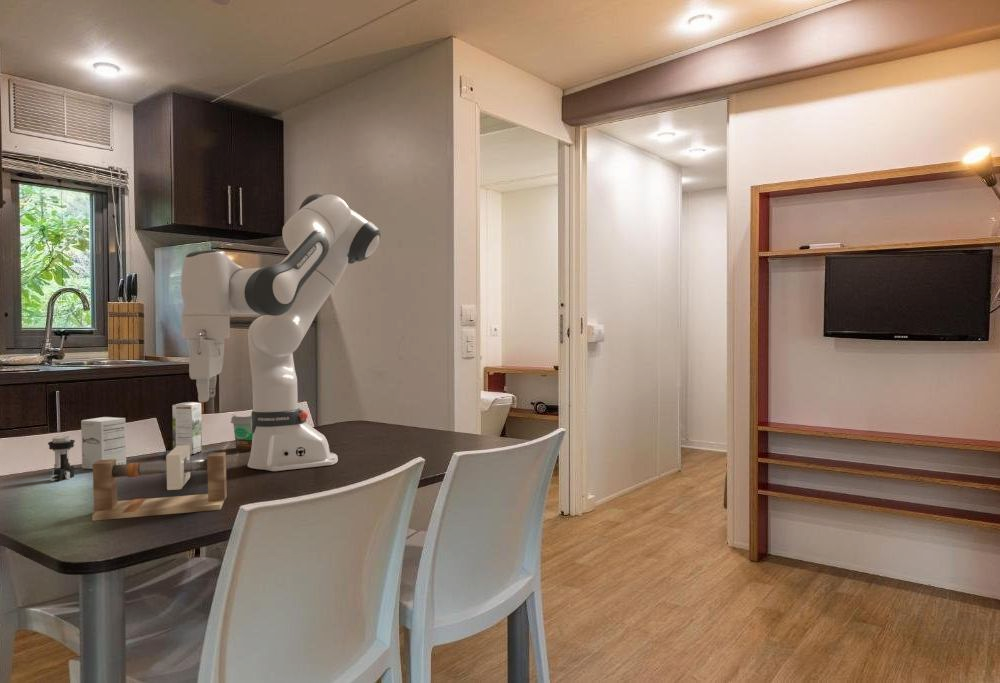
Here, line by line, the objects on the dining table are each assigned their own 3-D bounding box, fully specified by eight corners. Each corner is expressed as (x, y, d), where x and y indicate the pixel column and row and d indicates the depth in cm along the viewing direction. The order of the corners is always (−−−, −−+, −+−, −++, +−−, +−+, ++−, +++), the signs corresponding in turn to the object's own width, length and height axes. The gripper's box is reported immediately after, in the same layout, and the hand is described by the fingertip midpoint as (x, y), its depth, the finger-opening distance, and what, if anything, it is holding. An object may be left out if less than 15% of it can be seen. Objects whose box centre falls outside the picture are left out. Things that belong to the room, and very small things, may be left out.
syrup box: (182, 452, 192) (181, 402, 191) (202, 451, 191) (201, 401, 191) (172, 456, 186) (171, 404, 186) (193, 455, 186) (191, 404, 185)
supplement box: (81, 469, 170) (79, 420, 170) (107, 463, 177) (106, 416, 176) (101, 470, 167) (100, 421, 167) (127, 465, 174) (126, 417, 174)
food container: (222, 451, 192) (221, 416, 192) (234, 447, 198) (233, 414, 198) (262, 451, 190) (261, 417, 190) (272, 448, 196) (272, 414, 196)
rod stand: (228, 497, 139) (227, 449, 138) (222, 509, 129) (221, 458, 129) (104, 507, 132) (103, 457, 132) (89, 520, 123) (87, 467, 122)
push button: (61, 482, 154) (60, 440, 154) (39, 483, 155) (38, 440, 154) (80, 476, 161) (79, 435, 161) (59, 476, 161) (58, 435, 161)
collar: (190, 476, 137) (189, 445, 137) (180, 489, 126) (180, 454, 126) (177, 477, 136) (176, 446, 136) (167, 490, 126) (166, 455, 126)
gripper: (216, 330, 123) (217, 404, 123) (228, 330, 143) (229, 394, 143) (179, 330, 121) (180, 405, 122) (196, 330, 141) (197, 395, 141)
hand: (207, 399), depth 132 cm, fingers open, 8 cm apart
